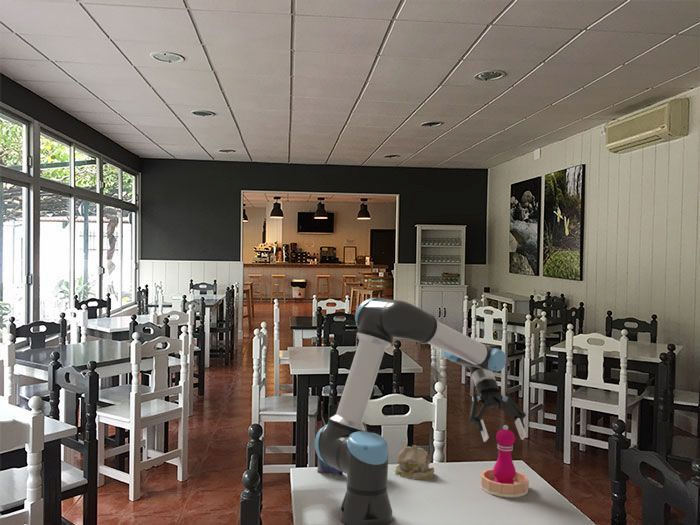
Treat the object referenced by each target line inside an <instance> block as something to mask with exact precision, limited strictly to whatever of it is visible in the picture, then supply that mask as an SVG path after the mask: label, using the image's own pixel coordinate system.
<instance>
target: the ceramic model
mask: <svg viewBox="0 0 700 525" xmlns="http://www.w3.org/2000/svg"><path fill="white" fill-rule="evenodd" d="M429 459H430V455H429V453H428V451H426V450H425V449H424V448H422V447H417V445H416V444H412V445H411V446H404V447H403V449H402V450H401V451H399V453H398V455H397V459H396V462H397V464H398V465H396V467H395V471H394V472H395V475H397V474H398V475H400V476H399V477H401V476H402V477H401V478H404V477H408V478H407V479H412V478H415V479H414V480H431V479H432V478H433V477H434V476H435V475H434V474H435V467H430V463H431V461H430V460H429ZM398 475H397V476H398Z"/></svg>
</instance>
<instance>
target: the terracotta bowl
mask: <svg viewBox="0 0 700 525" xmlns="http://www.w3.org/2000/svg"><path fill="white" fill-rule="evenodd" d="M493 469H494V467H493V468H487V469H484V470H482V471H481V472H480V477H479V478H480V480H479V482H480V487H481V489H482V491H484V492H485V493H486V494H489V495H492V496H495V497H500V498H507V499H508V498H509V499H512V498H521V497H524V496H526V495H527V494H528V491H529V486H530V485H529V484H530V483H529V482H530V480H529V478H528V476H527V475H526V474H524V473H522V472H520V471H518V470H516V476H515V477H514V478H513V480H514V484H502V483H498V482H494V479H495V478H496V477H495V475H494V473H493Z"/></svg>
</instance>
